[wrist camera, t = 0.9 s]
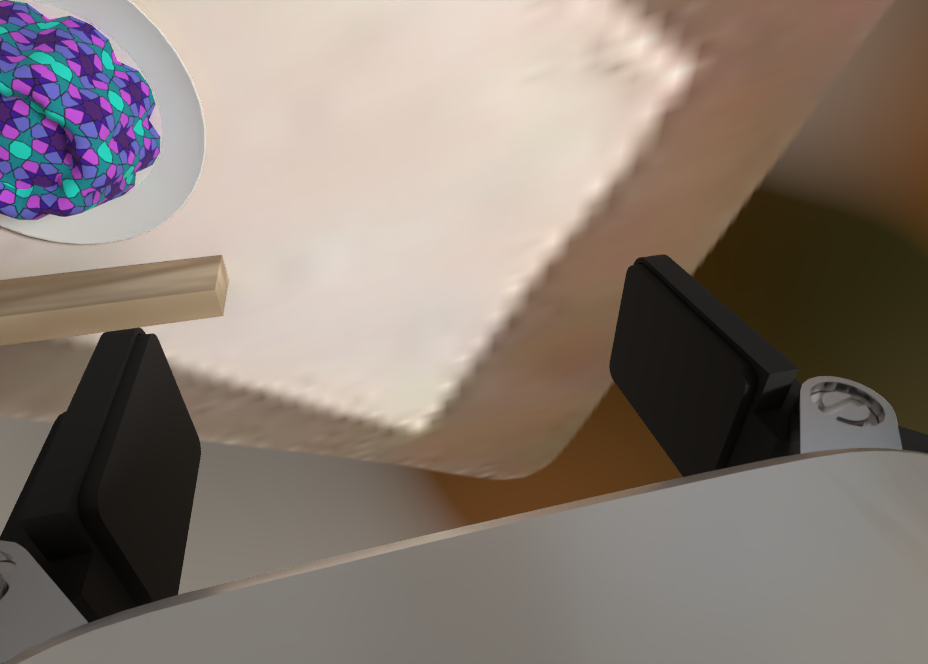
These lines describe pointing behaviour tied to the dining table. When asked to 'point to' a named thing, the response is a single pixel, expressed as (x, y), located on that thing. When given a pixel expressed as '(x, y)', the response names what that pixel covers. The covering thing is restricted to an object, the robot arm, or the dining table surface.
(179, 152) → the pudding
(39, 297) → the pair of beige bars
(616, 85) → the dining table surface
